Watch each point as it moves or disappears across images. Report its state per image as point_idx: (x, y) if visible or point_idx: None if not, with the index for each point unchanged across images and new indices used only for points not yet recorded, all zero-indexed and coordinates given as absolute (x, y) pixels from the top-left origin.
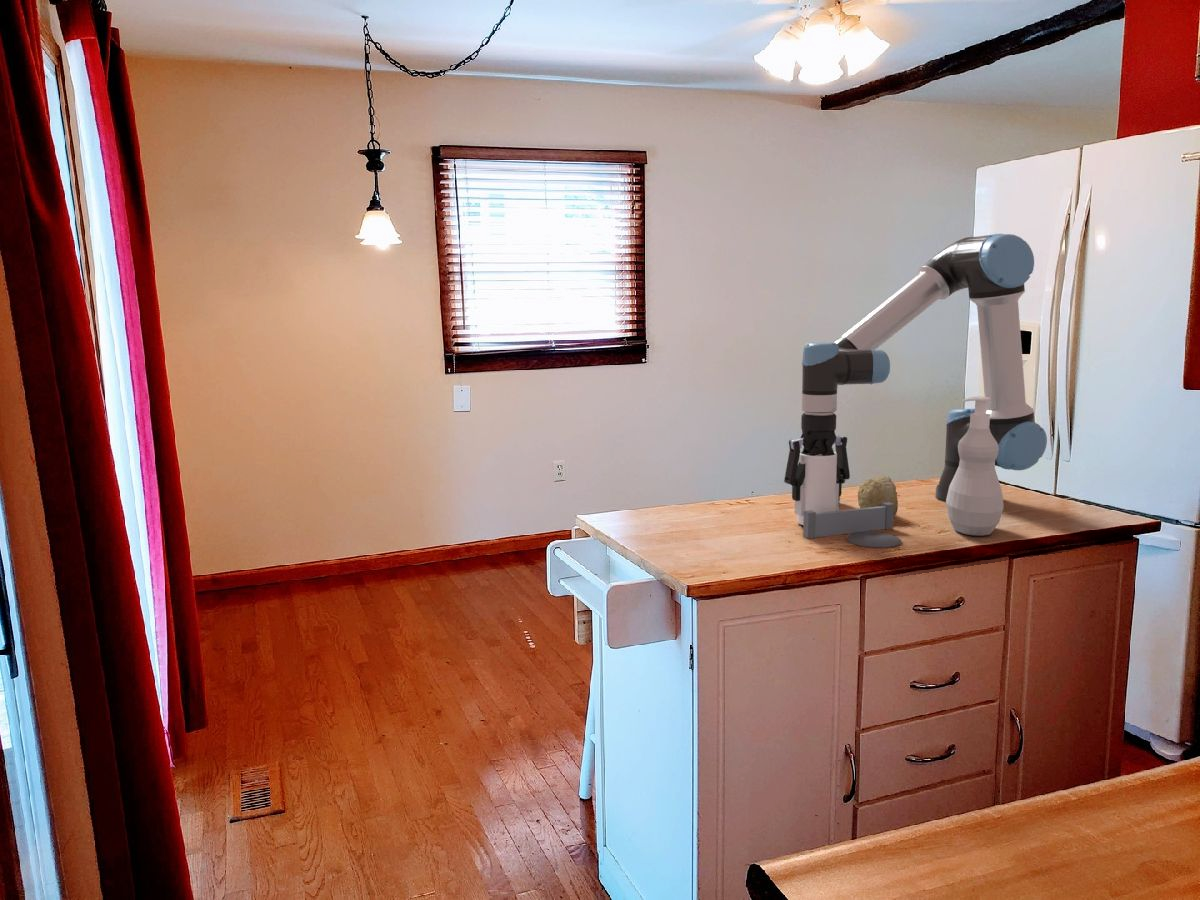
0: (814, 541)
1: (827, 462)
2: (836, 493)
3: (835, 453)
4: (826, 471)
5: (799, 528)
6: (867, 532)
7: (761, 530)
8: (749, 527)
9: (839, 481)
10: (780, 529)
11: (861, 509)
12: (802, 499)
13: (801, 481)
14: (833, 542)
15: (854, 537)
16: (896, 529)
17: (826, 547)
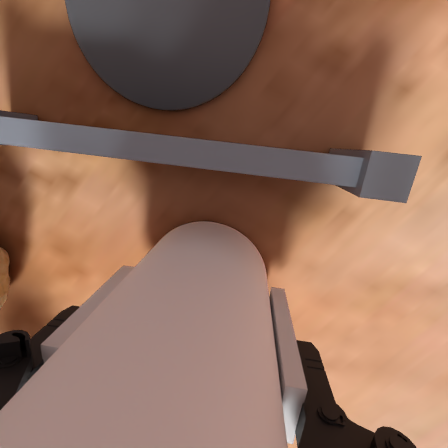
0: (371, 106)
1: None
2: (91, 310)
3: None
4: (137, 421)
5: (286, 266)
6: (129, 91)
7: (411, 306)
8: (413, 347)
9: (25, 356)
10: (348, 286)
11: (83, 131)
12: (289, 332)
13: (315, 434)
14: (320, 57)
15: (218, 53)
16: (2, 100)
17: (403, 2)
